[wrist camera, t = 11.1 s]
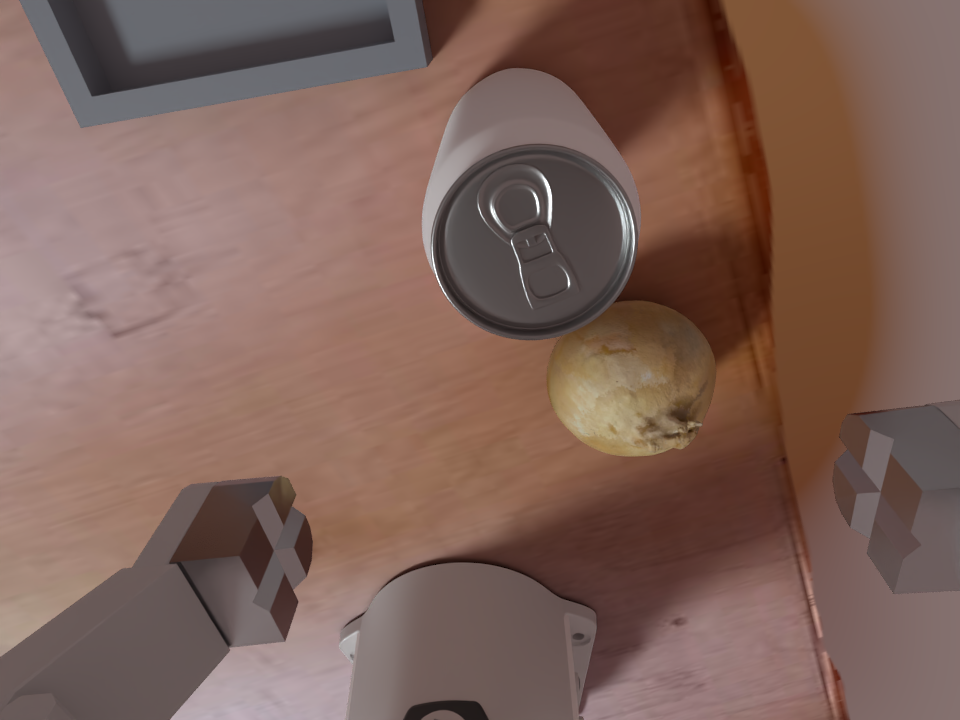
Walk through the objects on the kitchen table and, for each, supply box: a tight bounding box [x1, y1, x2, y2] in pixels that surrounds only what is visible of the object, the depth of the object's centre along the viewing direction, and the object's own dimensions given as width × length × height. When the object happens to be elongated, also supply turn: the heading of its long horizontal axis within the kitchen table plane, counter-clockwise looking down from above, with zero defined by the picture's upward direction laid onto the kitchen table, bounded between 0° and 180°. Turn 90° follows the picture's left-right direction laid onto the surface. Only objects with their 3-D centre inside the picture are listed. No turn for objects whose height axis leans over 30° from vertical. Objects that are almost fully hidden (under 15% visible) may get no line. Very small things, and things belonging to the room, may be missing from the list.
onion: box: [547, 300, 716, 456], centre depth 29 cm, size 8×8×7 cm
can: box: [422, 68, 641, 340], centre depth 22 cm, size 6×6×12 cm
